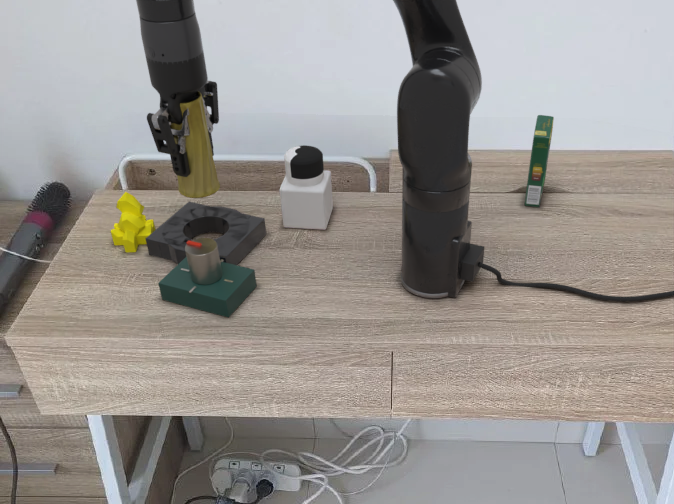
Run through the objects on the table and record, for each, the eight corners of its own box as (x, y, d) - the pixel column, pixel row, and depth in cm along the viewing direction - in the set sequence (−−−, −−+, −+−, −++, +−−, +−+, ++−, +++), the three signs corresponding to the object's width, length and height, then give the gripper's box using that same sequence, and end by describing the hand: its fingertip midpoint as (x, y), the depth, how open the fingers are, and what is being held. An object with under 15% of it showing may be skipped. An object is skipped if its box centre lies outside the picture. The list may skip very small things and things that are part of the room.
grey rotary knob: (228, 270, 112) (222, 239, 109) (211, 287, 109) (205, 256, 106) (201, 264, 114) (195, 233, 110) (185, 280, 110) (178, 249, 107)
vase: (170, 194, 115) (150, 101, 106) (192, 175, 120) (175, 84, 110) (206, 202, 114) (189, 107, 104) (227, 182, 118) (213, 90, 109)
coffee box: (540, 209, 132) (551, 136, 123) (523, 207, 132) (532, 134, 124) (544, 186, 138) (555, 115, 129) (528, 184, 138) (537, 113, 130)
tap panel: (258, 285, 115) (255, 267, 113) (227, 318, 109) (224, 300, 107) (193, 269, 118) (190, 251, 116) (160, 301, 112) (156, 283, 110)
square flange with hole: (268, 232, 126) (266, 216, 124) (225, 276, 116) (222, 260, 115) (194, 215, 130) (191, 199, 128) (146, 257, 120) (142, 240, 118)
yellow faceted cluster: (111, 253, 121) (99, 209, 116) (121, 225, 127) (110, 182, 122) (150, 251, 121) (139, 207, 116) (158, 224, 127) (148, 181, 122)
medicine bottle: (333, 208, 132) (329, 141, 124) (326, 230, 126) (321, 162, 118) (291, 205, 132) (285, 139, 124) (282, 228, 127) (275, 160, 119)
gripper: (166, 72, 97) (189, 193, 108) (226, 35, 107) (242, 149, 118) (116, 64, 99) (144, 183, 110) (180, 28, 109) (199, 140, 120)
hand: (195, 165), depth 114 cm, fingers closed on vase, 5 cm apart
